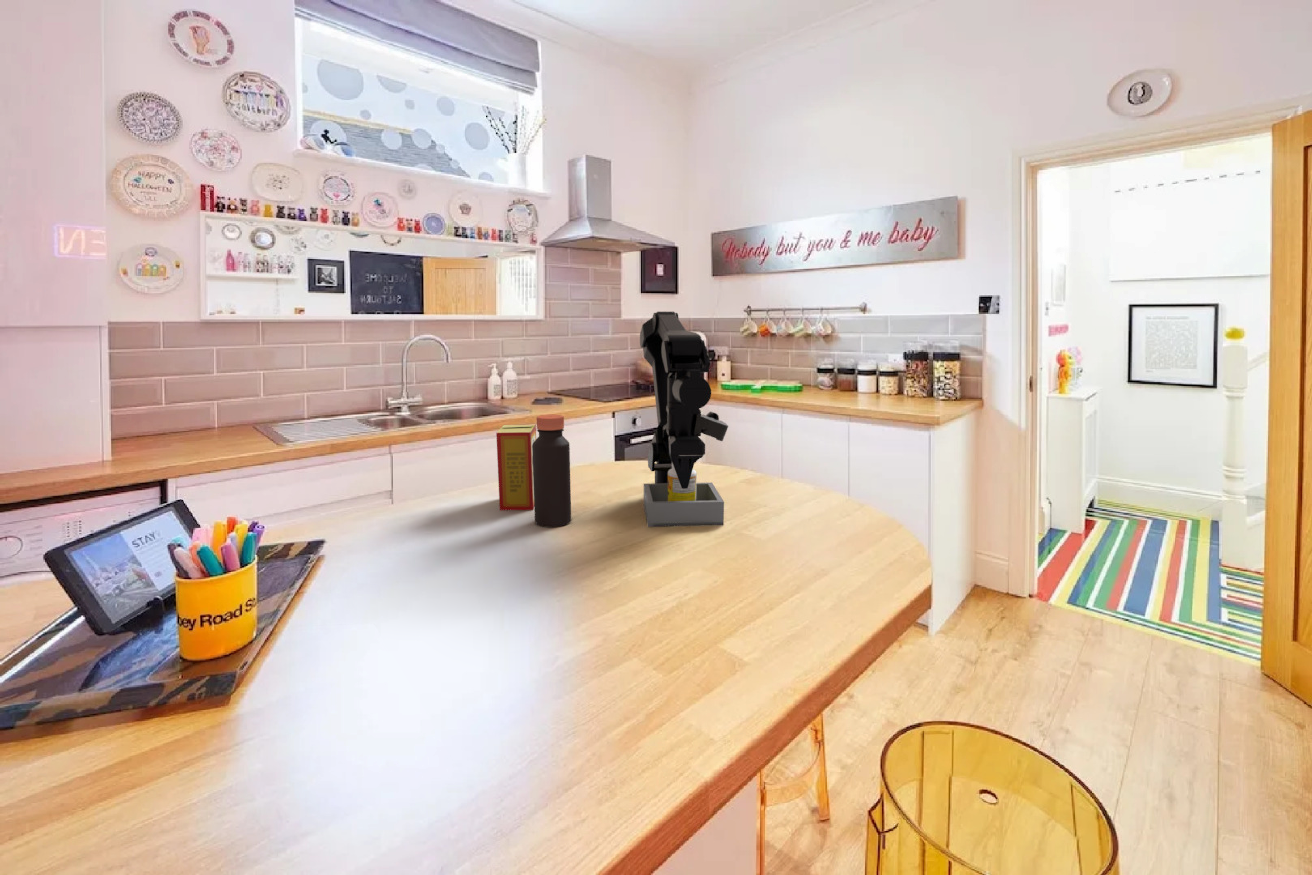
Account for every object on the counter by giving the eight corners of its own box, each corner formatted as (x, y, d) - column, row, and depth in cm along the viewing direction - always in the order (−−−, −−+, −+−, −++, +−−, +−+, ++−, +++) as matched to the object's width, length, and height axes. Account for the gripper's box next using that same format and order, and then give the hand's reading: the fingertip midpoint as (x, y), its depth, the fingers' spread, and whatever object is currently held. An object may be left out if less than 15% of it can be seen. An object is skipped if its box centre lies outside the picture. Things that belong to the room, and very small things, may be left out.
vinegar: (568, 528, 119) (565, 419, 115) (531, 527, 119) (527, 419, 115) (573, 516, 125) (571, 413, 122) (538, 516, 126) (535, 413, 122)
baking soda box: (533, 509, 130) (530, 430, 127) (499, 510, 130) (496, 431, 127) (538, 496, 139) (535, 422, 136) (507, 497, 139) (503, 423, 136)
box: (647, 526, 120) (647, 503, 119) (643, 504, 133) (643, 483, 132) (723, 525, 121) (724, 501, 120) (711, 503, 134) (712, 482, 133)
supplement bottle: (672, 505, 130) (673, 456, 128) (699, 508, 128) (700, 458, 126) (663, 513, 125) (663, 462, 123) (691, 517, 123) (691, 464, 121)
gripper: (734, 408, 114) (732, 494, 117) (717, 395, 132) (715, 470, 135) (671, 409, 113) (670, 495, 116) (662, 395, 132) (662, 471, 135)
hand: (681, 482), depth 126 cm, fingers open, 9 cm apart
